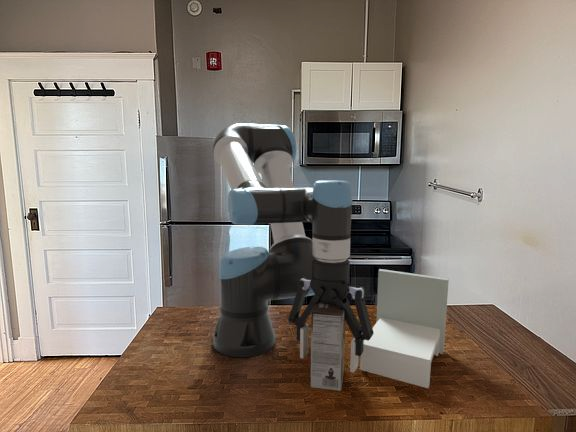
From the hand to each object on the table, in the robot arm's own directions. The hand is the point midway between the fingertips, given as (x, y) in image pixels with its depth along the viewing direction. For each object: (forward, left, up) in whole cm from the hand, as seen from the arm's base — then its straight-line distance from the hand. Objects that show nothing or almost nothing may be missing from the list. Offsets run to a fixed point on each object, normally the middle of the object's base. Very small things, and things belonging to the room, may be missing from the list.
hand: (328, 362), depth 77 cm
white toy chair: (+12, +14, -3) cm, 19 cm away
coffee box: (0, 0, -4) cm, 4 cm away
